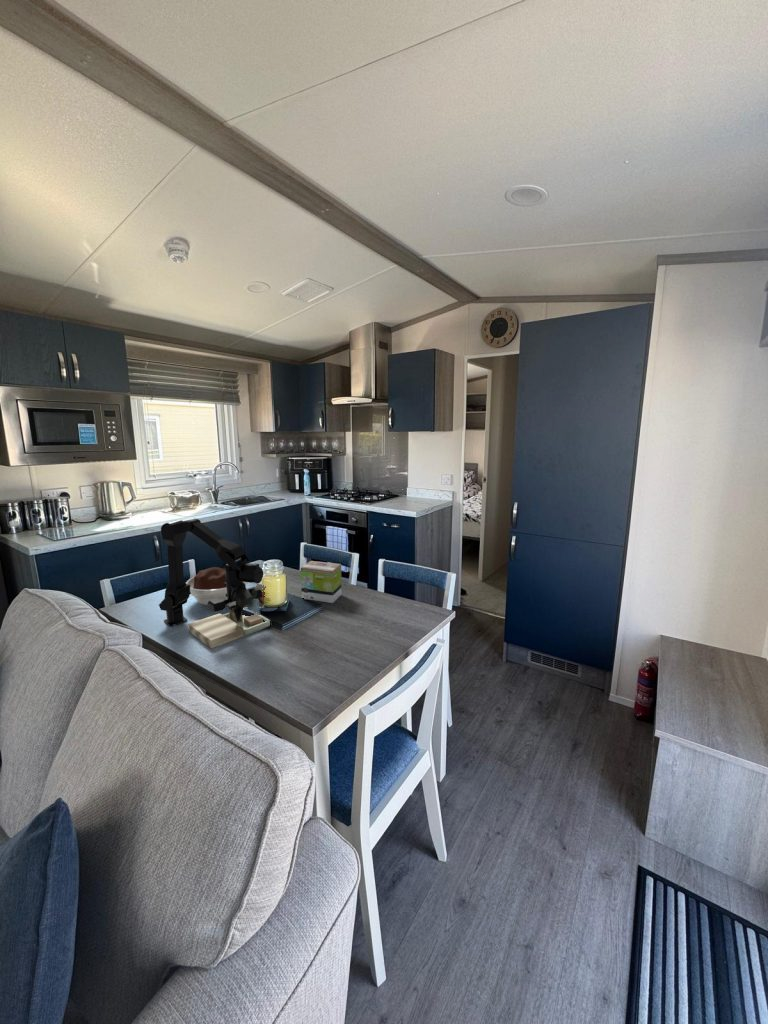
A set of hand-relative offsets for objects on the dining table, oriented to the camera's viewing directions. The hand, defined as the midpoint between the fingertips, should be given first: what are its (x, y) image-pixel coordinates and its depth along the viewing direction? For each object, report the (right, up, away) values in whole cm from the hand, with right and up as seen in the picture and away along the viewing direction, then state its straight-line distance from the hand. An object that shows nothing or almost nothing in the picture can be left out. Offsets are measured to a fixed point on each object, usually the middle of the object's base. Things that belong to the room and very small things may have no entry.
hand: (237, 620), depth 155 cm
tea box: (+26, +2, +31) cm, 41 cm away
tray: (+1, -3, +7) cm, 8 cm away
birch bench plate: (-7, -4, -1) cm, 9 cm away
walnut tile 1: (-4, +1, +8) cm, 9 cm away
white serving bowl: (-18, +1, +28) cm, 33 cm away
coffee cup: (+6, 0, +20) cm, 21 cm away
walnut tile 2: (+4, -1, +5) cm, 7 cm away
